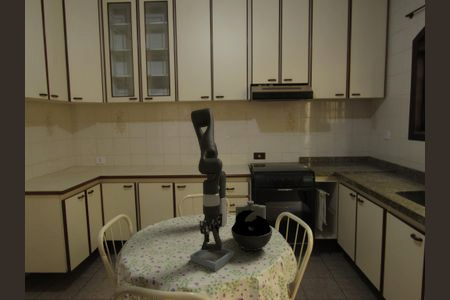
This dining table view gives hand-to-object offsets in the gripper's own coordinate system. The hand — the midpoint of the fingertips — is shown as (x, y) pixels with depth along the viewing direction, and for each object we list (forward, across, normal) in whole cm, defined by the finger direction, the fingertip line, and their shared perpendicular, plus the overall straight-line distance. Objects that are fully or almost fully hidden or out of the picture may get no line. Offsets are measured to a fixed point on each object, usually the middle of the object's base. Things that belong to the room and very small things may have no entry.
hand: (211, 239), depth 124 cm
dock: (+10, 0, 0) cm, 10 cm away
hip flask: (+10, -31, +2) cm, 33 cm away
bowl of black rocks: (+10, -20, +9) cm, 24 cm away
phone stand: (+4, 0, 0) cm, 4 cm away
